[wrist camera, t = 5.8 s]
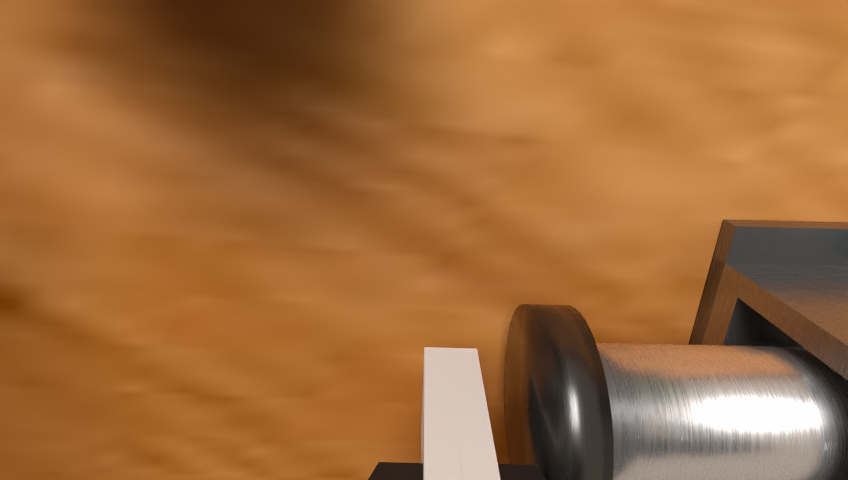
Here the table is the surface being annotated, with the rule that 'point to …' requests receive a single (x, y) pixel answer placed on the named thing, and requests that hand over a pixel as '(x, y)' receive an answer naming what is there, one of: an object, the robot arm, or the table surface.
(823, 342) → the guide
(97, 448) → the table surface
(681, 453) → the plunger
